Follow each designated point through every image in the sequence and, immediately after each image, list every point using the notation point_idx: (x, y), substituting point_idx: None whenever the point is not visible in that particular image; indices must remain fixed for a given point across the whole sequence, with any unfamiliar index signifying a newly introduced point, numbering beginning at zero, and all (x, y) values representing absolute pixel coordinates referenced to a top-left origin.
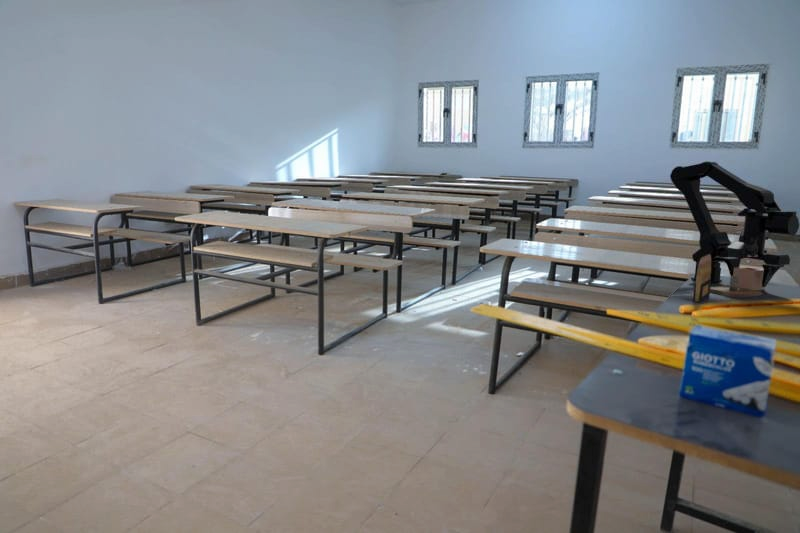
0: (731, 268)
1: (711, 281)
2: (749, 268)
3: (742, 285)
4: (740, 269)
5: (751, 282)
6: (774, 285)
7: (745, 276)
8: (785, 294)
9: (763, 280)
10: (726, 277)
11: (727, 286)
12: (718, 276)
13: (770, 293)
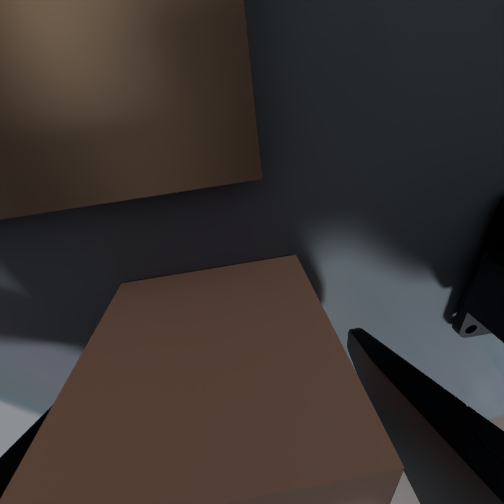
0: (462, 447)
1: (497, 230)
2: None
3: (201, 292)
4: (256, 477)
5: (93, 342)
6: None
7: (164, 383)
8: (17, 403)
9: None
10: (485, 413)
11: (200, 91)
12: (501, 315)
13: (39, 351)
